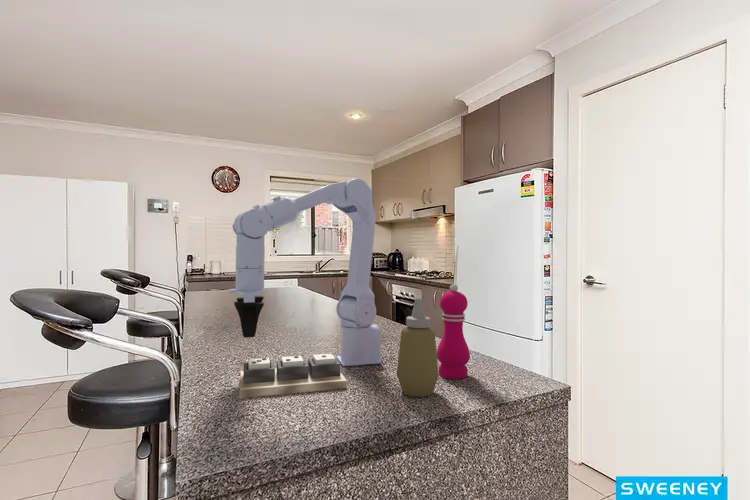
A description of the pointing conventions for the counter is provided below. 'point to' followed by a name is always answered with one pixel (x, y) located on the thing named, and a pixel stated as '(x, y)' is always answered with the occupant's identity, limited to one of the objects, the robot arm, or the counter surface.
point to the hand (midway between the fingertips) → (249, 333)
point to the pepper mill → (453, 336)
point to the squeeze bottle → (417, 355)
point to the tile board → (290, 379)
